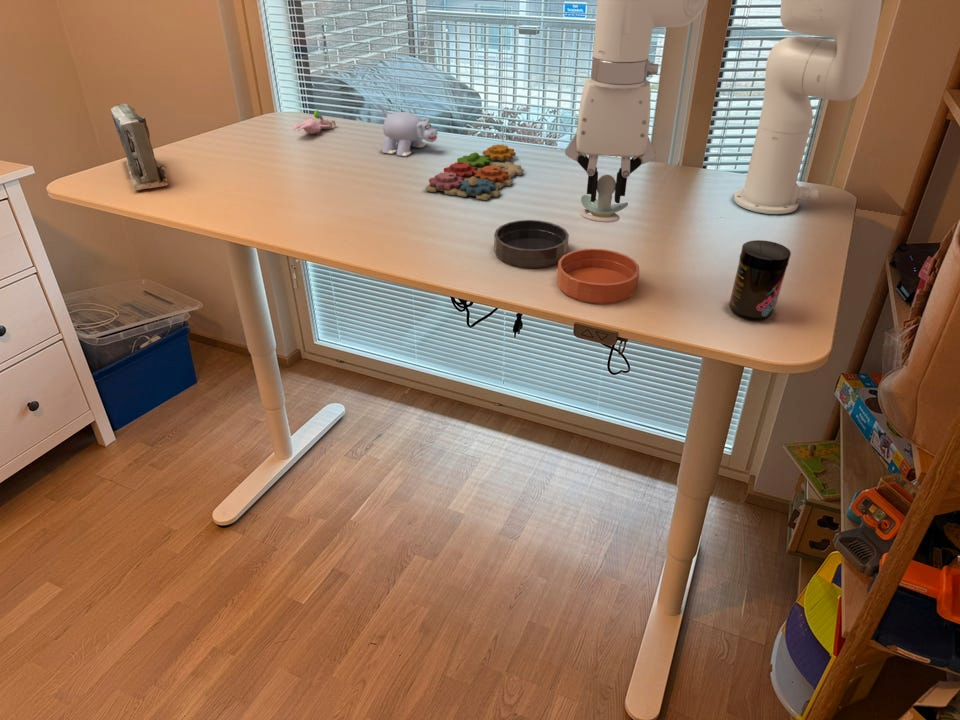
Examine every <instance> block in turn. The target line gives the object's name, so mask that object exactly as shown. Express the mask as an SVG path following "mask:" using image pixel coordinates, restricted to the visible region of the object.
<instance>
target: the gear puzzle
mask: <svg viewBox="0 0 960 720" xmlns="http://www.w3.org/2000/svg"><path fill="white" fill-rule="evenodd" d="M515 156H517V153H516V152H515V149H514V148H509V147H508V145H504V144H494V145H491V146H489V147H487V148H486V149H485V150H483V151H482V154H479V153H478V152H477V151H476V152H475V151H474V152H472V153H470V154H469V155H463V156H462V157H458V158H457V159H456V162H454V163H451V164H450V165H449V166H447V167H444V168H443V172H439V173H437V174H435V175H434V177H431V178H428V185H426V186H425V190H426V192H431V193H437V192H438V191H440V192H444V195H448V196H457V197H462V198H467V197H468V196H471V197H475V198H476V199H477V200H481V201H487V200H489V199H490V198H492V197H494V198H498V197H499V196H500V195H501V190H499V189H502V188H503V187H504V186H506V187H510V186H511V185H512V184H513V179H512V178H514V177H515V176H521V175H522V174H524V169H522V165H520V164H515V163H514V162H511V161H505V162H502V161H504V160H512V157H515ZM496 160H498V161H496ZM493 161H494V162H493ZM499 161H501V162H499Z"/></svg>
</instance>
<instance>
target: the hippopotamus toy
mask: <svg viewBox="0 0 960 720" xmlns="http://www.w3.org/2000/svg"><path fill="white" fill-rule="evenodd" d="M379 110H382V111H381V112H382V113H383V115H384V117H385V119H384V122H383V126H382V131H383V134H384V139H383V144H382V151H381V152H382V153H383V154H389V155H390V154H391V155H394V154H396V155H397V156H400V157H408V156H410V155H411V154H412V153H413V152H412V151H411V150H410V149H411V147H413V148H417V149H419V148H424V147H425V146H426V145H427V143H426V142H429V143H434V142H436V141H437V139H438V136H437V135H438V134H439V133H438V129H437V128H433V127H432V124H431V123H430V119H429V118H428V119H426V120H422V119H421V118H420V117H419V116H418V115H416V114H414V113H412V112H405V111H401V112H399V111H398V112H394V113H393V112H392V113H389V112H388V110H386V109H385V108H384V107H379ZM423 140H425V141H426V142H423ZM396 145H397V148H396Z"/></svg>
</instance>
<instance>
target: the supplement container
mask: <svg viewBox="0 0 960 720" xmlns="http://www.w3.org/2000/svg"><path fill="white" fill-rule="evenodd" d="M791 254H792V252H791V250H790V249H789V248H787V246H785V245H783V244H781V243H778V242H775V241H769V240H762V239H761V240H760V239H756V240H749V241H746V242H745V243H743V244H742V246H741V251H740V254H739V259H738V265H737V269H736V273H735V277H734V280H733V281H734V282H733V286H732V291H731V294H730V299H729V303H728V306H729V310H730V311H731V313H732V314H733V315H734V316H735V317H738V318H740V319H742V320H745V321H751V322H763V321H767V320H769V319H771V318H772V317H773V315H774V314H775V310H776V308H777V304H778V300H779V297H780V294H781V289H782V286H783V283H784V279H785V275H786V272H787V268H788V266H789V263H790V259H791V256H792V255H791Z"/></svg>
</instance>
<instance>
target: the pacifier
mask: <svg viewBox="0 0 960 720" xmlns="http://www.w3.org/2000/svg"><path fill="white" fill-rule="evenodd" d="M615 188H616V179H615V178H614V176H612V175H610V174H604V175H601V176H600V177H598V182H597V192H596V193H598V194H597V198H596V201H594V202H591V195H589V194H584V195H582V196H581V198H580V203H581V205H582V206H583V207H584V209H583V208H582V209H581V210H579V212H578V214H579V216H580V217H582V218H583V219H586V220H588V221H591V222H596V223H609V224H610V223H615V222H618V221H620V219H621V217H620V215H618V214H617V213H618V212H620V211H622V210H624V209H625V208H627V207H628V205H629V202H620V203H614V204H612V199H613V194H615Z"/></svg>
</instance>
